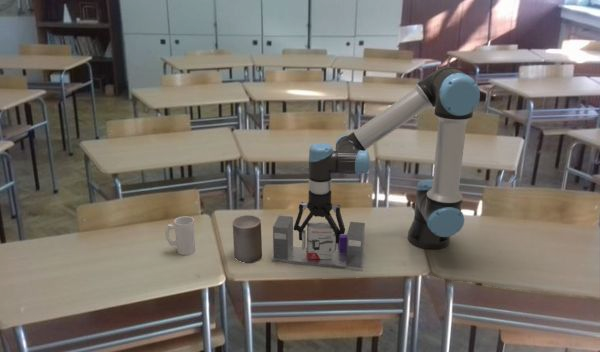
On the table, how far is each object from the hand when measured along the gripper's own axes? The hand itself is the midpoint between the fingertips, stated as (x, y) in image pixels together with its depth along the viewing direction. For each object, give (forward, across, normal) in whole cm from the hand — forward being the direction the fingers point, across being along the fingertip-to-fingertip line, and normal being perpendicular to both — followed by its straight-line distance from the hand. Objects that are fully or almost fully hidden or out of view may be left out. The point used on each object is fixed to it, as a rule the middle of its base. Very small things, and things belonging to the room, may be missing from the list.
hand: (319, 249), depth 197 cm
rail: (+4, 0, 0) cm, 4 cm away
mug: (+4, +48, +4) cm, 49 cm away
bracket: (+4, -9, -12) cm, 15 cm away
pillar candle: (+4, +24, +3) cm, 25 cm away
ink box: (+3, 0, 0) cm, 3 cm away
